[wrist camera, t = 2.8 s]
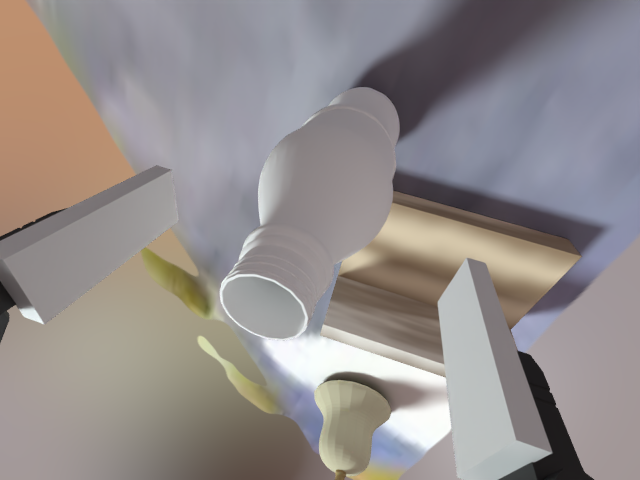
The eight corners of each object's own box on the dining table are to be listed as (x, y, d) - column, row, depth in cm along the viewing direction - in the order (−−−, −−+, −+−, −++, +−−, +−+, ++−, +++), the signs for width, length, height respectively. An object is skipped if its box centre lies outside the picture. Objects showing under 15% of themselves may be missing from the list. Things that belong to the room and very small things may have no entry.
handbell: (371, 422, 63) (354, 599, 43) (308, 395, 63) (261, 559, 43) (405, 394, 53) (404, 603, 34) (331, 362, 54) (285, 551, 34)
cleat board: (366, 182, 32) (350, 236, 23) (568, 239, 30) (633, 320, 21) (338, 271, 41) (319, 335, 32) (495, 320, 39) (521, 402, 30)
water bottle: (414, 102, 27) (434, 285, 7) (379, 169, 31) (326, 400, 11) (344, 70, 27) (156, 158, 7) (318, 141, 31) (157, 324, 11)
